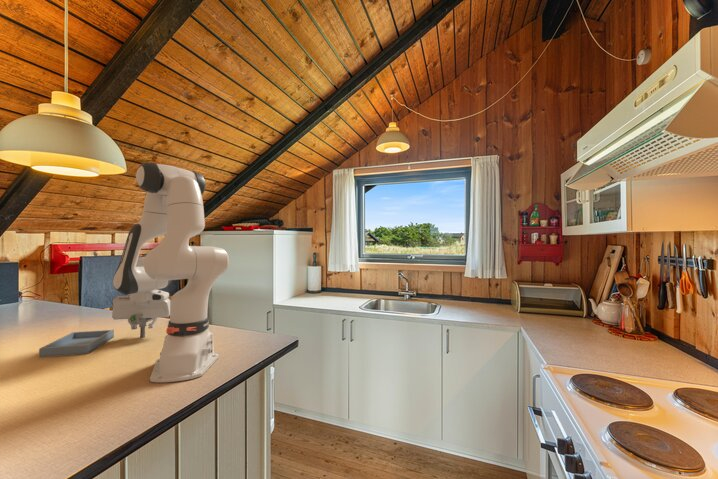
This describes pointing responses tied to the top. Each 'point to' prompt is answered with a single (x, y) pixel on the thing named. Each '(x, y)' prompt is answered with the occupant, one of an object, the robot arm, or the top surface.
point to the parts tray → (76, 343)
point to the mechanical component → (140, 323)
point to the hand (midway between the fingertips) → (142, 328)
